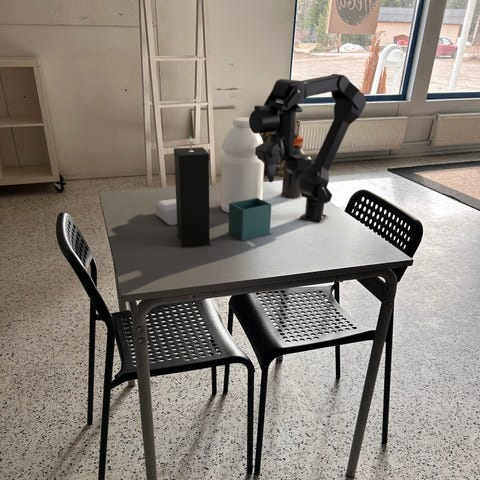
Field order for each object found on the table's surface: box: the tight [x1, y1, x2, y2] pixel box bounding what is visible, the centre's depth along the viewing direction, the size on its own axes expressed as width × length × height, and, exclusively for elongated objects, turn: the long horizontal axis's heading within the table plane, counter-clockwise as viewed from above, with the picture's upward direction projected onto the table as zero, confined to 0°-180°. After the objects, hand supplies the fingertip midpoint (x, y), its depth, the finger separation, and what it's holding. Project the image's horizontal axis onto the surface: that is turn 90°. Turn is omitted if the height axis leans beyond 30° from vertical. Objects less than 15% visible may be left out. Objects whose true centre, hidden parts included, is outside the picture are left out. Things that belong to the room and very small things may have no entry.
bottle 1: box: [219, 116, 265, 214], centre depth 158 cm, size 14×14×28 cm
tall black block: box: [173, 136, 211, 248], centre depth 133 cm, size 8×8×28 cm
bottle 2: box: [281, 135, 306, 199], centre depth 173 cm, size 7×7×20 cm
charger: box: [155, 198, 177, 226], centre depth 156 cm, size 5×9×15 cm
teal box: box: [228, 198, 272, 242], centre depth 144 cm, size 9×7×10 cm
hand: (280, 186), depth 145 cm, fingers open, 9 cm apart
